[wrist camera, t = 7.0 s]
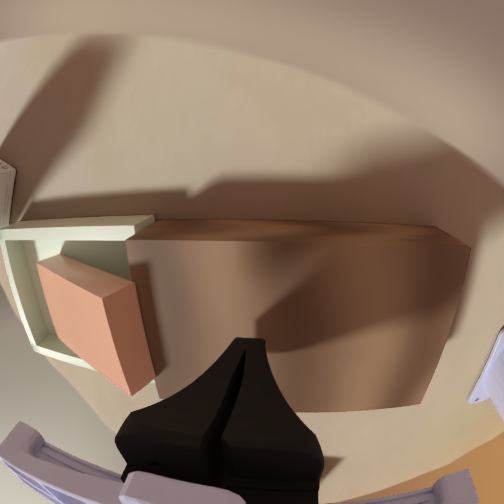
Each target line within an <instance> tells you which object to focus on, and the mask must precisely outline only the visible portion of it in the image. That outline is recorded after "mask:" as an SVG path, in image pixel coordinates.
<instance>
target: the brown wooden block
mask: <svg viewBox="0 0 504 504" xmlns="http://www.w3.org/2000/svg"><path fill="white" fill-rule="evenodd" d="M125 241H126V248H127V255H128V262H129V268H130V274H131V280H132V282H135V286H136V292H137V297H138V302H139V307H140V312H141V317H142V322H143V327H144V331H145V335H146V340H147V344H148V348H149V352H150V356H151V360H152V364H153V368H154V372H155V375H156V378H155V379H154V381H155V384H156V388H157V391H158V394H159V398H161V399H166V398H168V397H170V396H172V395H174V394H175V393H177V392H179V391H180V390H182V389H183V388H185V387H186V386H188V385H189V384H190V383H192V382H193V381H194V380H196V379H197V378H198V377H199V376H201V375H202V374H203V373H204V372H205V371H206V370H207V369H208V368H209V367H210V366H211V365H212V364H213V363H214V362H215V361H216V360H217V359H218V358H219V357H220V356H221V355H222V353H223V352H224V351H225V350H226V349H227V347H228V346H229V345H230V343H231V342H232V341H233V339H234V338H236V337H242V338H260V339H264V340H265V341H266V354H267V358H268V362H269V365H270V368H271V371H272V374H273V376H274V378H275V381H276V383H277V385H278V387H279V389H280V391H281V393H282V394H283V396H284V398H285V399H286V401H287V403H288V404H289V405H290V407H291V408H292V409H293V411H294V412H345V411H362V410H374V409H385V408H394V407H402V406H410V405H417V404H420V403H421V401H422V399H423V397H424V395H425V392H426V390H427V388H428V386H429V384H430V381H431V379H432V377H433V374H434V372H435V369H436V367H437V364H438V362H439V359H440V357H441V354H442V352H443V349H444V346H445V343H446V340H447V338H448V335H449V332H450V329H451V326H452V322H453V319H454V316H455V313H456V309H457V306H458V302H459V299H460V295H461V291H462V287H463V283H464V279H465V275H466V270H467V266H468V261H469V256H470V251H471V248H470V247H469V246H467V245H465V244H464V243H462V242H461V241H459V240H457V239H456V238H454V237H452V236H451V235H449V234H447V233H446V232H444V231H442V230H441V229H439V228H437V227H434V226H418V225H400V224H380V223H357V222H330V221H293V220H158V221H156V222H155V223H153V224H151V225H150V226H148V227H146V228H144V229H143V230H141V231H139V232H138V233H136V234H134V235H133V236H131V237H129V238H128V239H126V240H125Z"/></svg>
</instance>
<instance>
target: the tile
mask: <svg viewBox="0 0 504 504" xmlns="http://www.w3.org/2000/svg"><path fill="white" fill-rule="evenodd" d="M36 264H37V268H38V273H39V277H40V280H41V284H42V288H43V292H44V295H45V299H46V302H47V305H48V309H49V312H50V315H51V318H52V321H53V324H54V327H55V330H56V333H57V335H58V338H59V339H60V340H61V341H62V342H63V343H64V344H65V345H66V346H68V347H69V348H70V349H71V350H72V351H73V352H75V353H76V354H77V355H78V356H79V357H80V358H82V359H83V360H84V361H85V362H86V363H88V364H89V365H90V366H91V367H93V368H94V369H95V370H96V371H98V372H99V373H100V374H102V375H103V376H104V377H106V378H107V379H108V380H110V381H111V382H112V383H114V384H115V385H116V386H118V387H119V388H121V389H122V390H123V391H125V392H126V393H128V394H129V395H131V396H133V395H134V394H135V393H137V392H138V391H139V390H141V389H142V388H143V387H144V386H146V385H147V384H148V383H150V382H151V381H152V380H154V379H155V378H156V375H155V372H154V368H153V364H152V360H151V356H150V352H149V348H148V344H147V340H146V335H145V331H144V327H143V322H142V317H141V312H140V307H139V302H138V297H137V292H136V286H135V282H132V281H129V280H126V279H124V278H121V277H118V276H115V275H113V274H110V273H107V272H105V271H102V270H99V269H97V268H94V267H92V266H89V265H86V264H84V263H81V262H79V261H76V260H74V259H71V258H69V257H66V256H64V255H61V254H57V255H55V256H52V257H49V258H47V259H44V260H41V261H39V262H36Z"/></svg>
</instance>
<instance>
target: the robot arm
mask: <svg viewBox="0 0 504 504" xmlns="http://www.w3.org/2000/svg"><path fill="white" fill-rule="evenodd" d="M487 399H490V400H491V401H492V403H493V405H494V406H495V408H496V410H497V411H498V413H499V415H500V417H501V419H502V420H503V422H504V329H502V330H501V331H500V333H499V335H498V337H497V340H496V342H495V345H494V347H493V349H492V352H491V354H490V356H489V359H488V361H487V363H486V365H485V367H484V369H483V371H482V373H481V375H480V378H479V380H478V381H477V383H476V385H475V387H474V389H473V391H472V393H471V395H470V397H469V398H468V402H469V403H470V404H472V403H476V402H480V401H483V400H487ZM115 443H116V446H117V448H118V450H119V451H120V453H121V455H122V456H123V458H124V459H125V461H126V463H127V466H126V468H125V470H124V472H123V474H122V475H120V474H118V473H115V472H112V471H109V470H107V469H104V468H101V467H99V466H97V465H94V464H92V463H89V462H87V461H85V460H82V459H80V458H78V457H76V456H73V455H71V454H69V453H67V452H65V451H63V450H61V449H58V448H57V447H55V446H53V445H51V444H49V443H47V442H45V440H44V438H43V437H42V435H41V434H40V433H39V432H38V431H37V430H36V429H34V428H32V427H31V426H29V425H27V424H25V423H24V422H22V421H19V422H18V423H17V425H16V426H15V427H14V428H13V430H12V431H11V432H10V433H9V435H8V436H7V437H6V438H5V440H4V441H3V442H2V444H1V445H0V459H1V460H2V462H3V463H4V464H5V465H6V466H7V467H8V468H9V469H10V470H11V471H12V472H13V473H14V474H15V475H16V476H17V477H18V478H19V479H20V480H21V481H22V482H23V483H25V484H26V485H28V486H29V487H30V488H32V489H33V490H35V491H36V492H38V493H39V494H41V495H43V496H44V497H46V498H47V499H49V500H50V501H52V502H53V503H55V504H318V491H319V479H320V477H321V474H322V471H323V469H324V457H323V453H322V450H321V447H320V444H319V442H318V439H317V437H316V435H315V434H314V433H313V432H312V431H311V430H310V429H309V428H308V427H307V426H306V425H305V424H304V423H303V422H302V421H301V420H300V418H299V417H298V416H297V415H296V414H295V412H294V411H293V409H292V408H291V407H290V405H289V404H288V403H287V401H286V399H285V398H284V396H283V394H282V393H281V391H280V389H279V387H278V385H277V383H276V381H275V378H274V376H273V374H272V371H271V368H270V365H269V362H268V358H267V354H266V341H265V340H264V339H260V338H242V337H236V338H234V339H233V341H232V342H231V343H230V345H229V346H228V347H227V349H226V350H225V351H224V352H223V353H222V355H221V356H220V357H219V358H218V359H217V360H216V361H215V362H214V363H213V364H212V365H211V366H210V367H209V368H208V369H207V370H206V371H205V372H204V373H203V374H202V375H201V376H199V377H198V378H197V379H196V380H194V381H193V382H192V383H190V384H189V385H188V386H186V387H185V388H183V389H182V390H180V391H179V392H177V393H175V394H174V395H172V396H170V397H168V398H166V399H164V400H162V401H160V402H158V403H156V404H153V405H151V406H148V407H145V408H142V409H139V410H136V411H133V412H131V413H130V414H129V416H128V417H127V418H126V419H125V421H124V423H123V424H122V426H121V428H120V430H119V431H118V433H117V435H116V437H115ZM327 504H480V502H479V499H478V496H477V493H476V490H475V486H474V483H473V481H472V478H471V475H470V472H469V470H468V469H464V470H461V471H458V472H455V473H452V474H448V475H446V476H443V477H441V478H440V479H438V480H437V481H436V482H435V484H434V485H433V486H432V487H429V488H425V489H421V490H417V491H413V492H408V493H404V494H399V495H393V496H388V497H382V498H376V499H370V500H361V501H353V502H342V503H327Z"/></svg>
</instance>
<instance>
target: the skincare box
mask: <svg viewBox="0 0 504 504" xmlns="http://www.w3.org/2000/svg"><path fill="white" fill-rule="evenodd" d="M15 174H16V169H14V168H13V167H12V166H10V165H9V164H7V163H6V162H4V161H3V160H1V159H0V229H1V228H3V227H6V226H8V225H9V219H10V209H11V201H12V193H13V186H14V180H15Z"/></svg>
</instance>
